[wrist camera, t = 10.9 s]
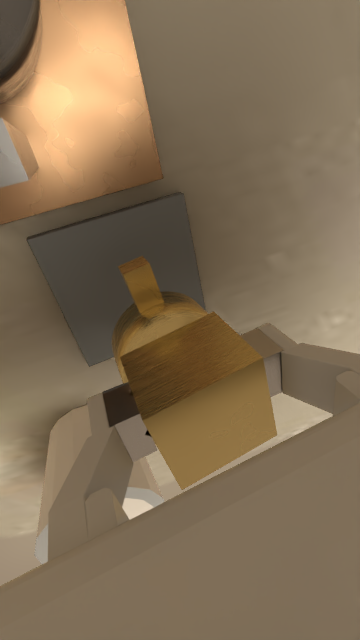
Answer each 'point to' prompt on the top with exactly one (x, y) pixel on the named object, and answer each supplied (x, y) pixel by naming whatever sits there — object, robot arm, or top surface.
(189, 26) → the top surface
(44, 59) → the drum on wooden base
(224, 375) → the cap
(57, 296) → the mat
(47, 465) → the white cylinder
